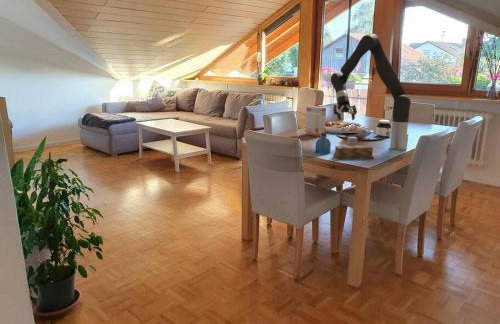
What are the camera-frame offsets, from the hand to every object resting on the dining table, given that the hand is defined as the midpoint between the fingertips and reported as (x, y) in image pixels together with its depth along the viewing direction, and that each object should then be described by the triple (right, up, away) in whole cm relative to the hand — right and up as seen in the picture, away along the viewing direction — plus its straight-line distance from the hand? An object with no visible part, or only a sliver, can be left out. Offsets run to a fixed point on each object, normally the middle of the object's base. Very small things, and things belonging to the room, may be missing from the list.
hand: (346, 119), depth 243 cm
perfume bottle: (-17, -21, -10) cm, 29 cm away
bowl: (+10, -3, +58) cm, 59 cm away
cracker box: (-13, -7, +41) cm, 43 cm away
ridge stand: (-1, -24, -19) cm, 31 cm away
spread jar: (+36, -8, +40) cm, 54 cm away
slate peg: (+1, -21, -7) cm, 22 cm away
